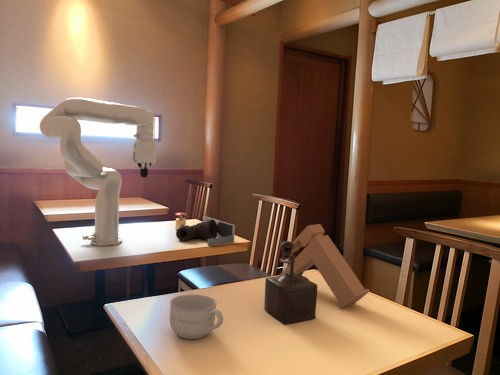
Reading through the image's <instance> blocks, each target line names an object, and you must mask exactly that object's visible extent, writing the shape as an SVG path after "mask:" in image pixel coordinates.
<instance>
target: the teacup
mask: <svg viewBox="0 0 500 375" xmlns="http://www.w3.org/2000/svg"><path fill="white" fill-rule="evenodd" d="M169 304H170V307H169V308H170V309H169V323H170V324H169V325H170V328H171V329H172V331H173V332H174V333H176V334H177V336H179V337H180V338H183V339H186V340H188V339H189V340H195V339H201V338H203V337H205V336H206V335H207V334H209V333H212V331H213V330H216V329H218V328H220V327H221V326H222V324H223V323H224V316H223V312H222V311H221V310H220V309H216V308H217V300H215V298H213V297H211V296H207V295H205V294H202V295H201V294H195V293H194V294H192V293H191V294H182V295H177V296H174V297H173V298H171V299H170V302H169ZM215 318H216V319H217V322H216V323H215Z"/></svg>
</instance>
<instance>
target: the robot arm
mask: <svg viewBox="0 0 500 375" xmlns="http://www.w3.org/2000/svg"><path fill="white" fill-rule="evenodd" d="M154 119H155V113H154V112H153V111H152V110H149V109H148V108H145V107H140V106H135V105H127V104H121V103H117V102H116V103H115V102H110V101H109V102H108V101H103V100H97V99H92V98H84V97H69V98H65V99H64V100H63V101H61V102H60V103H58V105H56V106H55V107H54V108H53V109H51V110H50V111H49V112H48V113H47V114H45V115H44V116H43V117H42V119H41V121H40V122H39V132H41V134H42V135H44V136H45V137H47V138H49V139H59V146H60V147H59V148H60V154H61V156H62V158H63V160H64V162H63V167H64V169H65V171H66V173H67V174H68V175H69V176H70V177H72V178H73V179H75V180H76V182H78V183H80V184H81V185H82V186H84V187H85V188H87V189H91V190H96V191H97V190H98V193H97V194H96V197H95V200H94V201H95V202H94V231H92V233H90V234H83V235H82V240H84V241H85V240H87V241H90V244H91V245H95V246H100V247H109V246H117V245H120V244H122V243H123V238H121V237H119V228H120V227H119V226H120V224H119V221H120V220H119V217H120V214H119V213H120V194H121V187H122V184H123V177H122V174H121V173H120V172H119V171H118V170H116V169H114V168H109V167H104V164H103V163H102V161H101V160H100V158H98V157H97V156H96V155H95V154H94V153H93V152H92V151H91V150H89V149H88V148H87V147H86V146H84V144H83V143H82V142H83V141H82V138H81V135H82V127H81V124H80V122H79V121H87V122H96V123H103V124H113V125H114V124H115V125H116V124H124V125H127V126H136V133H135V134H133V137H134V138H135V140H134V143H133V149H132V164H133V165H136V166H138V167H139V169H140V172H139V175H140V177H141V178H148V175H149V172H148V170H149V168H150V167H151V166H153V165H156V162H157V143H156V141H155V140H154V127H155V126H154V124H155V120H154ZM44 136H43V137H44Z"/></svg>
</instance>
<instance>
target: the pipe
mask: <svg viewBox="0 0 500 375" xmlns="http://www.w3.org/2000/svg"><path fill="white" fill-rule="evenodd" d="M213 219H214V218H213ZM213 219H211V220H208V221H206V222H203V221H202V222H198V223H196V224H193V225H187V224H186V226H182V227H180V228H179V229H178V230H177V231H175V236H176V238H177V239H178V240H180V241H183V242H187V241H189V240H192V238H197V239H199V240H200V239H201V240H206V241H208V239H210V238H217V224H216V222H215V220H213Z"/></svg>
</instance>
